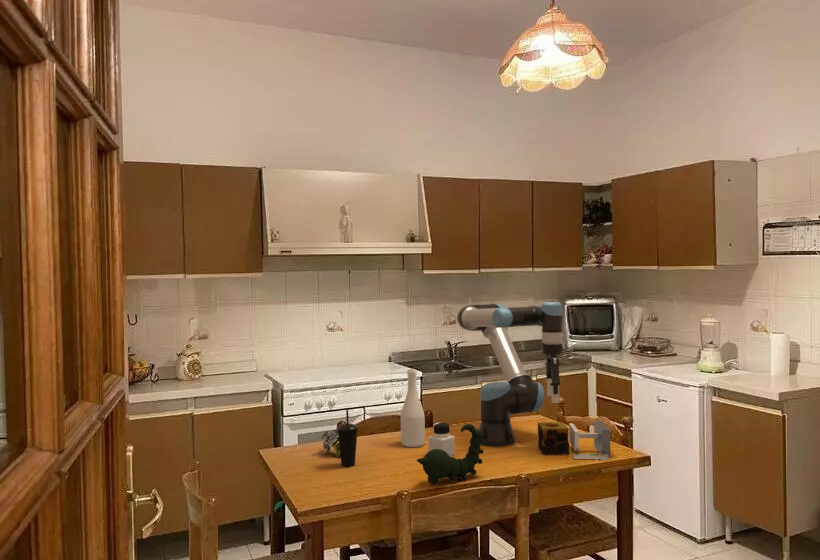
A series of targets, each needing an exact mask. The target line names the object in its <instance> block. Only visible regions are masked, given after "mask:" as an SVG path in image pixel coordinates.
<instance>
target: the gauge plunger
mask: <svg viewBox="0 0 820 560" xmlns="http://www.w3.org/2000/svg"><path fill="white" fill-rule="evenodd" d="M568 426H569V427H568V429H569V432H568V433H569V435H568V441H569V444H570V445H571V446H572V448H573V450H574V452H577V454H580V439H594V438H598V433H594V432H579V429H578V428H577V426H576V425H575V424H574V423H569V425H568Z"/></svg>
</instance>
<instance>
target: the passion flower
mask: <svg viewBox="0 0 820 560" xmlns="http://www.w3.org/2000/svg"><path fill="white" fill-rule="evenodd" d="M324 438H325V440H324V442H322V445H323V446H322V448H323V450H325V451H324V452H323V454H324V455H327V454H328V453H329V452H330V450H331V448H333V449H334V451H335V456H336V457H337V458H338V457H339V458H340V447H339V438H338V430H337V428H335V430H333V431H330V433H329V430H326V431H325V432H324V433H323V435H321V440H323V439H324Z"/></svg>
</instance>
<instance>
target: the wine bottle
mask: <svg viewBox="0 0 820 560" xmlns="http://www.w3.org/2000/svg"><path fill="white" fill-rule="evenodd" d="M406 372H407V373H406V374H407V391H406V396H405V399H404V402H403V406H402V409H401V413H400V444H401V445H402V446H404V447H405V446H406V448H418V447H419V448H420V447H422V446H424V445H425V443H426V429H425V428H426V426H425V424H426V422H425V419H426V417H425V411H424V408H423V406H422V403H421V400H420V397H419V394H418V390H417V376H416V375H418V373H417V369H415V368H408V369H407V371H406Z"/></svg>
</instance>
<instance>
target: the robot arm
mask: <svg viewBox="0 0 820 560" xmlns="http://www.w3.org/2000/svg"><path fill="white" fill-rule="evenodd" d="M456 320H457V323H458V325H459V327H461V328H462V329H463V330H466V331H469V332H475V331H477V332H481V333H482V335H483V337H484V338H486V339H488V341H489V342H490V345H491V347H492V350H493V352H494V355H495V358H497V359H496V360H497V361H498V364H499V367H500V368H501V370H502V374H503V375H504V379H505V381H492V382H489V383H485V384H484V385H483V386H482V387H481V389H480V397H479V398H480V417H481V418H480V421H481V422H480V425H479V428H478V430H480V431H481V433H483V434H484V436H483V437H481V440H482V441H484V444H483V445H482V446H485V447H496V448H497V447H499V448H502V447H508V446H512V445H514V444H515V443H516V435H515V432H514V430H513V426H512V424H511V415H516V414H517V415H518V414H526V413H534V412H538V411H540V410H541V409H542V407H543V405H544V402H545V390H544V387H543V385H542V383H540V382H538V381H534V380H533V378H532V376H531V375H530V374H527V373H526V370H525V369H524V367H523V364H522V363H521V359H520V357H519V355H518V353H517V351H516V348H515V347H514V344H513V341H512V339H511V337H510V335H509V333H508V328H516V327H533V326H534V327H536V326H537V327H541V342H542V344H541V348H542V349H541V351H542V353H543V354H544V355H546V372H545V376H546V396H548V397H549V396H550V397H551V404H560V385H561V379H560V368H559V362H560V361H559V360H560V359H559V358H558V357H557V356H558V355H561V354H563V344H562V343H563V337H564V336H565V334H564V333H563V309H562V303H560V302H558V301H557V302H556V301H545V302H542V303H541V306H537V305H529V306H517V307H505V306H504V305H503V304H500V303H490V304H488V303H487V304H469V305H465V306H463V307H462V308H461V309H460V310H459V311H458V312H457V316H456Z"/></svg>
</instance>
